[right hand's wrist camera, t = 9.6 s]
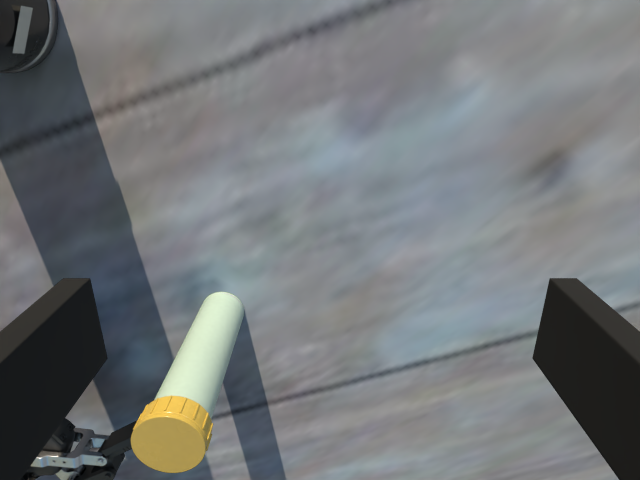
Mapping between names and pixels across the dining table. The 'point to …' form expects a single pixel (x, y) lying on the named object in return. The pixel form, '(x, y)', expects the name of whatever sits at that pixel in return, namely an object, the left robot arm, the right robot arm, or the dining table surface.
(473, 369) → the dining table surface
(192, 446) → the lid
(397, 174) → the dining table surface
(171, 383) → the jar
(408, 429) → the dining table surface
